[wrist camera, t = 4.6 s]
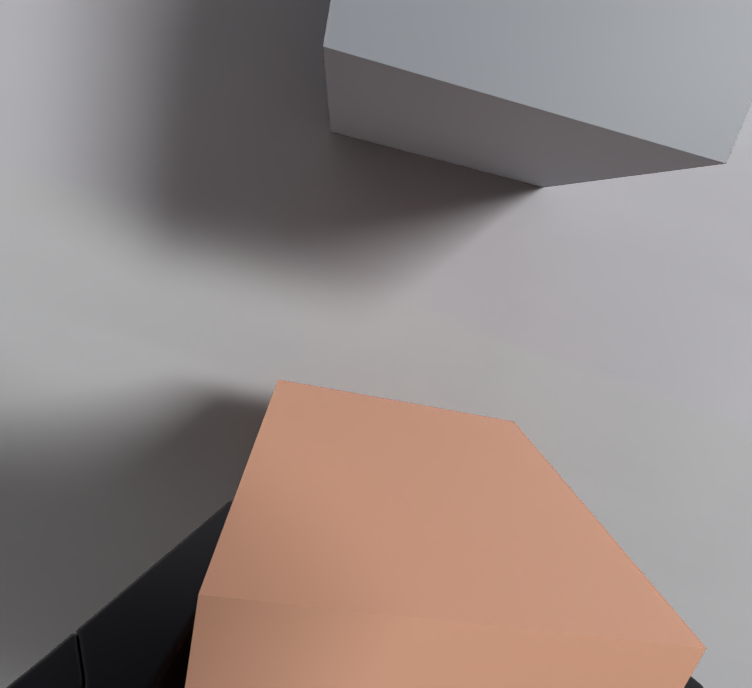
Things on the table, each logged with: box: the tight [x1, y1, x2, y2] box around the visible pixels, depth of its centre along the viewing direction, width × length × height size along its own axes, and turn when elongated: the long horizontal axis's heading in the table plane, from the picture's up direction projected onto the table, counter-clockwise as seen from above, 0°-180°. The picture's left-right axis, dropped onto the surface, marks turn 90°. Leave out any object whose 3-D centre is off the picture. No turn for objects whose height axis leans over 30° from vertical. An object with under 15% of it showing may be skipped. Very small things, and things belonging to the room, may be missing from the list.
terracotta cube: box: [185, 380, 706, 688], centre depth 7 cm, size 5×5×5 cm
